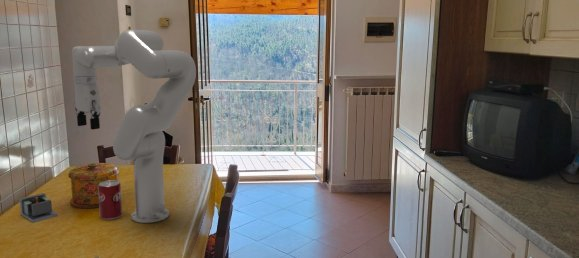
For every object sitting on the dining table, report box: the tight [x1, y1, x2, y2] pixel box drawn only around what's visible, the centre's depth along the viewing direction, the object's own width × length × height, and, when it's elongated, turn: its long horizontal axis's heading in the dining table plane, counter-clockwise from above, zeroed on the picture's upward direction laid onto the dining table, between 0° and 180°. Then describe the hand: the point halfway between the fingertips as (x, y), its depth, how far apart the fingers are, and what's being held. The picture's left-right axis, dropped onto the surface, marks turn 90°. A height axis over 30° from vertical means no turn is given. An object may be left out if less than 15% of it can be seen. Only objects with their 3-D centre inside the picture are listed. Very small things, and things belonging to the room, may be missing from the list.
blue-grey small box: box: [31, 197, 53, 216], centre depth 156 cm, size 5×6×5 cm
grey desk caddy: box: [18, 193, 58, 223], centre depth 157 cm, size 10×8×6 cm
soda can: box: [97, 180, 123, 221], centre depth 157 cm, size 7×7×12 cm
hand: (88, 127), depth 168 cm, fingers open, 9 cm apart
